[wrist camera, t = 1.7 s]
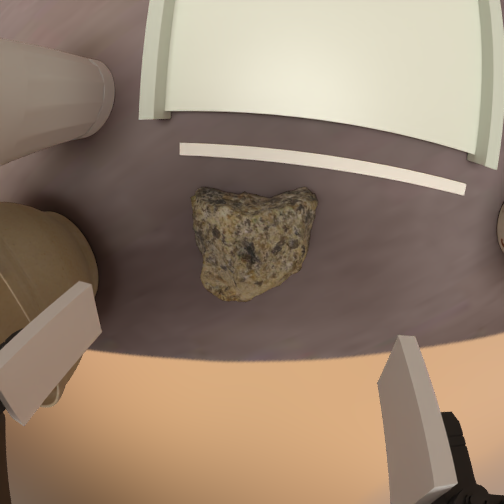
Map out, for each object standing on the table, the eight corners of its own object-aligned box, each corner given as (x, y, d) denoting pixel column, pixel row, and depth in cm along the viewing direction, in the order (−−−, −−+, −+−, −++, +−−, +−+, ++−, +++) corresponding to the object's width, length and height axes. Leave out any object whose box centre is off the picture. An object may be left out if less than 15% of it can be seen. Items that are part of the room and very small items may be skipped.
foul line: (180, 154, 19) (179, 154, 19) (181, 142, 19) (180, 142, 19) (462, 194, 17) (463, 195, 17) (464, 183, 17) (466, 184, 16)
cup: (35, 109, 19) (-83, 132, 8) (86, 31, 16) (-41, 11, 5) (83, 169, 21) (-44, 221, 10) (144, 88, 18) (-1, 81, 7)
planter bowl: (2, 171, 22) (-84, 205, 12) (129, 181, 21) (15, 235, 11) (25, 307, 29) (-33, 361, 19) (139, 351, 27) (84, 437, 17)
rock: (311, 287, 22) (311, 325, 18) (204, 280, 23) (183, 314, 19) (317, 186, 19) (320, 205, 15) (196, 184, 20) (168, 201, 16)
